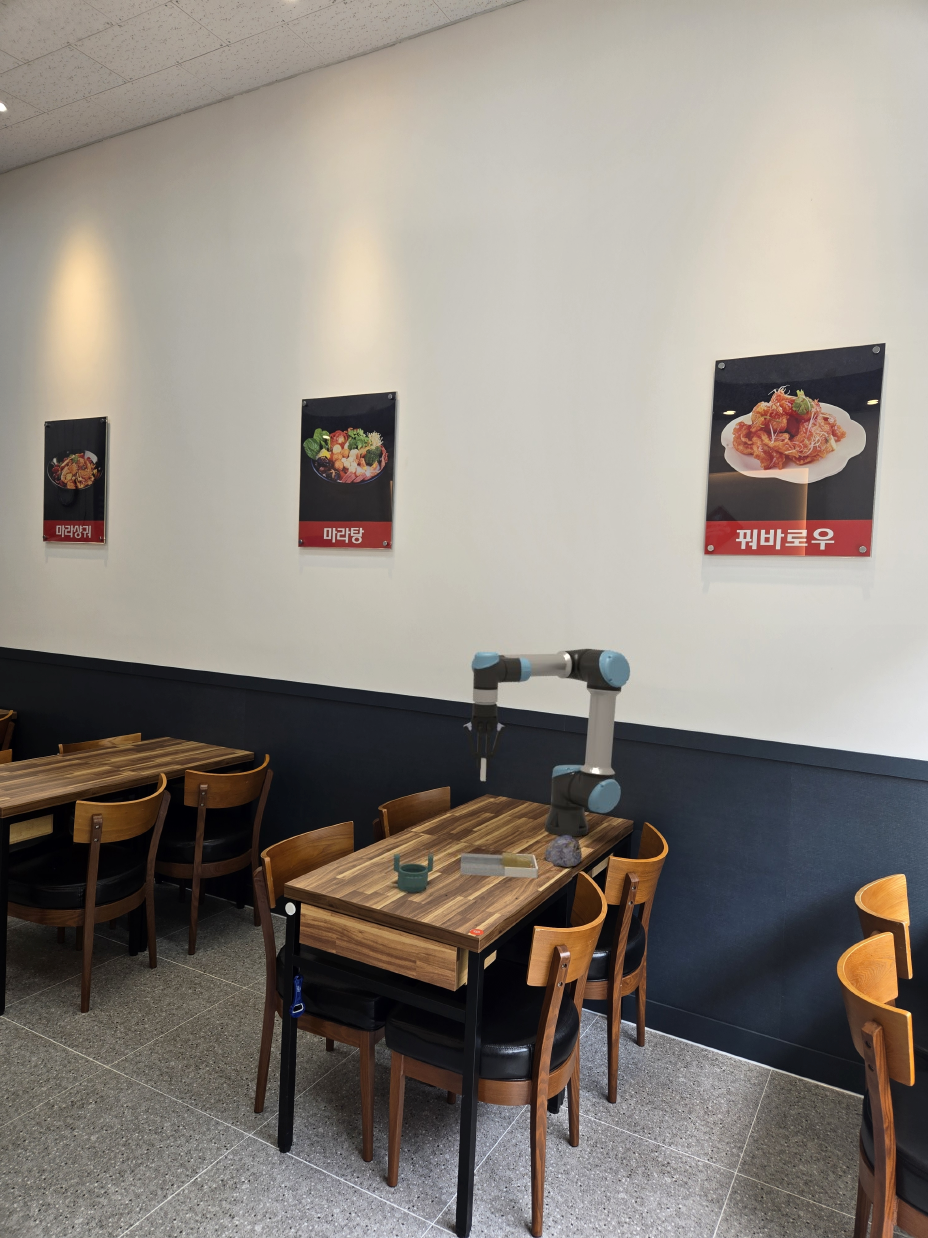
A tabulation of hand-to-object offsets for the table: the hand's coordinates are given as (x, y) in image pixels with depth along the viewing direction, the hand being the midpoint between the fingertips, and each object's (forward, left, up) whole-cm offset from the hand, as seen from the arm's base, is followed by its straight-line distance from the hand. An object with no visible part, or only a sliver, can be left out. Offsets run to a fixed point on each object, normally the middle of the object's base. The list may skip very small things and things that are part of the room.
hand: (482, 779), depth 238 cm
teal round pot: (+19, +26, -25) cm, 40 cm away
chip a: (-13, +10, -24) cm, 29 cm away
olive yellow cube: (-9, +10, -24) cm, 27 cm away
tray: (-12, +10, -25) cm, 29 cm away
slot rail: (-1, +10, -25) cm, 27 cm away
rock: (-25, -1, -25) cm, 36 cm away
